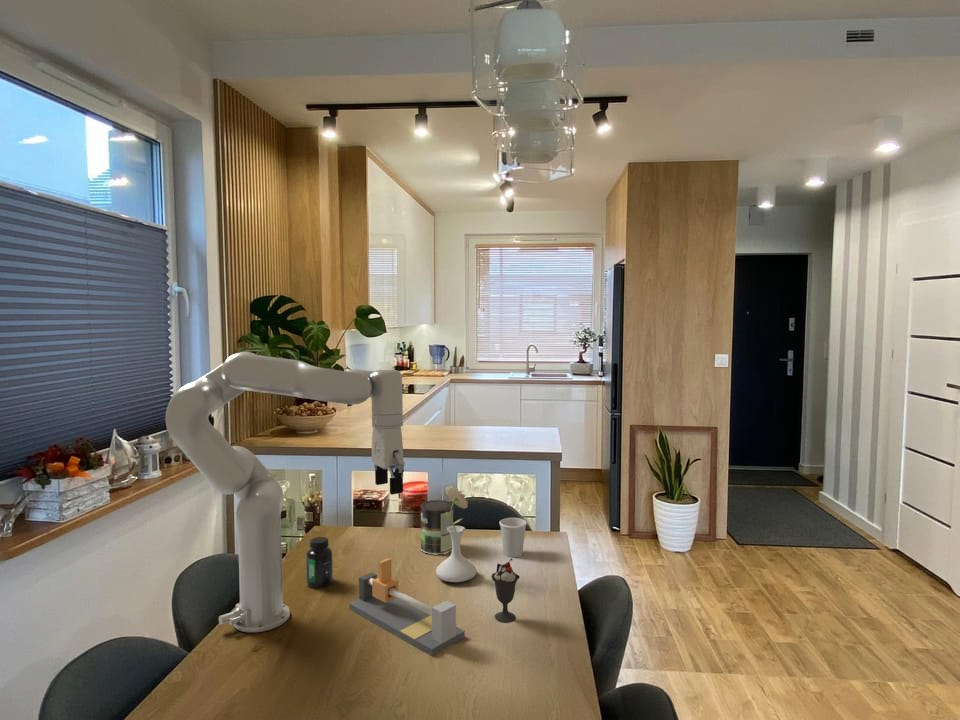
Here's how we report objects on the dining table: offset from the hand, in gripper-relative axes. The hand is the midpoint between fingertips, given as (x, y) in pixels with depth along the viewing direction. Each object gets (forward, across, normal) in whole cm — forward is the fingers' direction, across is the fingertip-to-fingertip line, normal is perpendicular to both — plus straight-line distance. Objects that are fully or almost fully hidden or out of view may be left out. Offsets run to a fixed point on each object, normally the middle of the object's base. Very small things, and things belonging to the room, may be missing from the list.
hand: (388, 488), depth 143 cm
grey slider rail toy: (+30, +10, -1) cm, 31 cm away
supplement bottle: (+30, -21, -12) cm, 38 cm away
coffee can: (+30, -26, +26) cm, 48 cm away
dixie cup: (+30, -11, +44) cm, 55 cm away
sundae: (+30, +20, +21) cm, 42 cm away
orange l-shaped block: (+25, +3, -3) cm, 26 cm away
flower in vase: (+30, -6, +22) cm, 38 cm away
